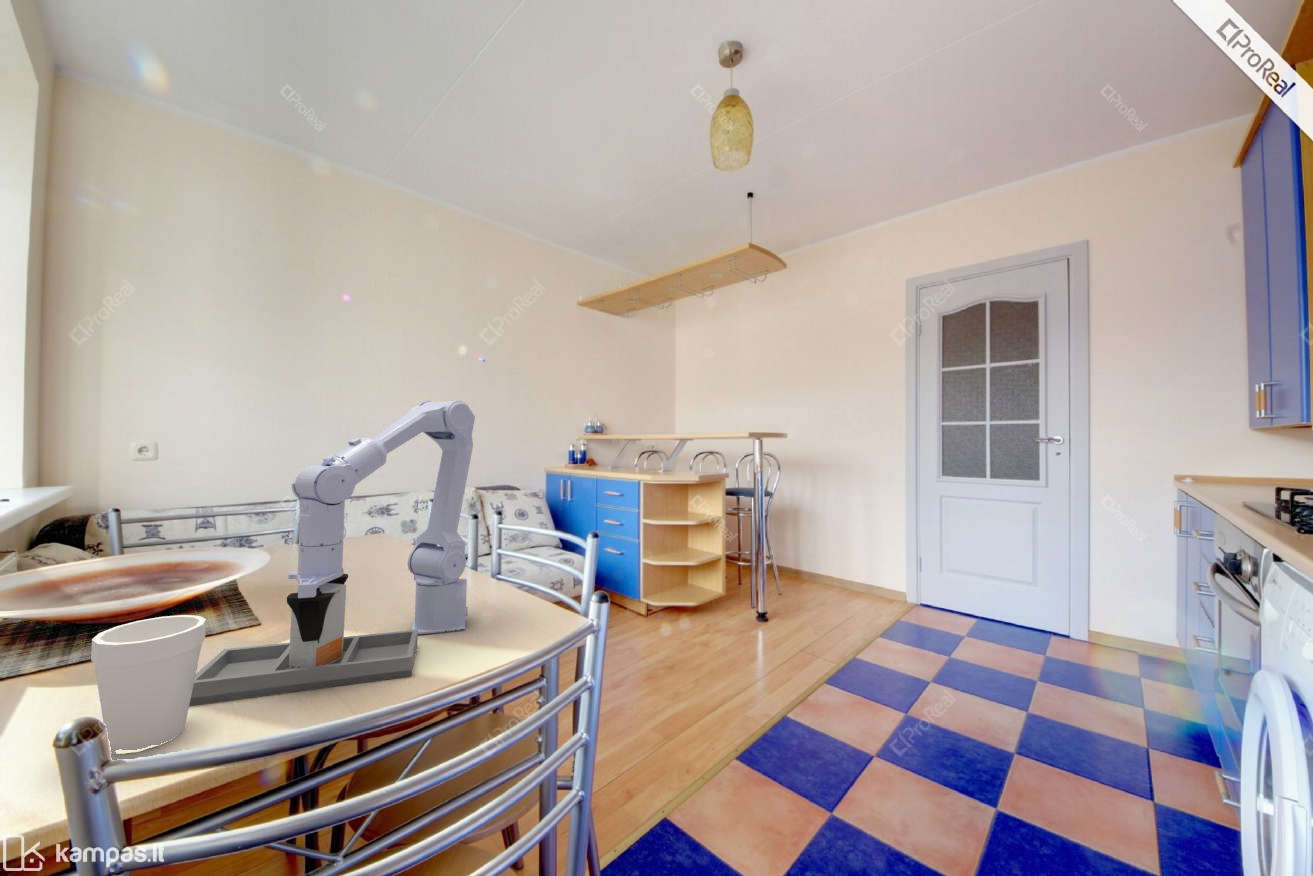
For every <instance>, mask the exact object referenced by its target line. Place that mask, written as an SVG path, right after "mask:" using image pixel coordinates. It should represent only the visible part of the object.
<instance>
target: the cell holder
mask: <svg viewBox="0 0 1313 876" xmlns="http://www.w3.org/2000/svg"><path fill="white" fill-rule="evenodd" d="M418 636H419V634H418V630H411V629H410V630H400V631H398V630H397V631H389V632H380V633H371V634H370V633H369V634H360V635H350V636H344V640H343V658H342V659H341V660H339V661H337V662H335V663H333V664H329V665H321V666H312V667H304V668H295V669H289V650H290V642H282V643H281V642H280V643H273V644H272V643H271V644H263V645H260V644H259V645H252V646H241V647H233V648H224V649H223V650H222V651H220V652H219V653H217V655H216V656H214V658H212V659H211V660H210V661H209V662H208V663H207V664H206V665H205V666H203V667H202V668H201V669H200V670H199V671H197V672H196V675H195V680H194V685H193V690H192V694H191V699H190V704H189V707H191V706H197V705H198V706H199V705H206V704H212V703H221V702H229V701H234V700H235V701H236V700H242V699H243V700H244V699H249V698H250V699H251V698H259V697H265V696H274V695H281V694H288V693H289V694H290V693H295V692H303V691H304V692H305V691H310V690H311V691H312V690H319V689H327V688H334V687H340V686H349V685H356V684H364V683H370V682H378V681H385V680H388V681H389V680H395V679H401V678H403V679H404V678H410V677H412V672H413V669H414V663H415V660H416V659H415V658H416V655H417V650H416V649H418ZM415 654H416V655H415Z"/></svg>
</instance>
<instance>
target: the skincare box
mask: <svg viewBox="0 0 1313 876" xmlns="http://www.w3.org/2000/svg"><path fill="white" fill-rule="evenodd" d="M319 588H320V591H322V593H333V592H335V594H334V596H333V597H332V599H331V601H330V603H329V606H328V609H327V612H326V615H325V620H324V625H323V630H322V634H321V637H320V639H319V640H317V641H308V642H302V639H301V636H300V631H299V627H298V623H297V619H296V617H295V615H294V612H293V611H292V610H291V615H290V632H289V633H290V634H289V635H290V636H289V643H290V650H289V669H295V668H304V667H312V666H321V665H329V664H333V663H335V662H337V661H339V660H341V659H342V658H343V640H344V637H345V634H344V633H345V621H346V620H345V616H346V614H345V613H346V599H347V598H346V596H347V584H346V583H345V584H334V583H325V584H322V585H320V587H319ZM294 593H298V591H295V592H294Z"/></svg>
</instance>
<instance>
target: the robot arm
mask: <svg viewBox="0 0 1313 876" xmlns="http://www.w3.org/2000/svg"><path fill="white" fill-rule="evenodd" d="M475 419H476V416H475V415H474V413H473V411H472V409H471V408H470V406H469V404H467V403H466V402H464V401H462V400H460V399H459V400H453V401H452V400H451V401H450V400H449V401H447V400H446V401H431V400H425V401H422V402H420V403H419V404H418V405H414V406H412V407H411V408H410V409H409V411H408V412H407V413H406V414H405V415H403V416H402V417H400V418H399V419H397V420H396V421H395V422H393V423H392V424H391V425H389V426H388V427H387V428H385V429H384V430H383V431H381V432H380V433H378V434H377V435H376V436H374V437H373V438H371V437H370V438H369V437H365V436H363V437H360V438H358V437H357V438H356V437H354V438H352V439H350V440H348V442H347V443H348V444H349V445H347V446H346V447H344V448H342V449H341V450H340V451H338V452H336V453H334V454H333V455H326V456H325V457H324V458H322V462H321V465H317V464H316V465H310V466H309V465H308V466H307V467H305V468H304V469H302V470H301V471H299V473H298V474H297V477H296V479H295V481H294V482H293V483H291V490H292V493H293V495H294V496H295V497H296V498H297V499H298V501H299V529H298V532H299V533H298V554H297V555H298V557H297V559H298V560H297V570H295V571H293V570H292V571H290V572H289V573H288V574H287V575H288V576H287V579H288V580H293V579H294V580H296V582H297V583H298V589H297V592H298V593H295V592H293V593H290V594H288V595H287V597H286V603H287V605H288V606H289V608H290V609H291V612H292V611H293V612H294V615H295V617H296V619H297V623H298V627H299V631H300V636H301V639H302V642H308V641H317V640H319V639H320V637H321V634H322V630H323V625H324V620H325V615H326V612H327V609H328V606H329V603H330V601H331V599H332V597H333V596H334V594H335V592H333V593H322V591H320V588H319V587H320V585H322V584H325V583H334V584H345V585H346V581H347V580H348V578H349V574H347V573H345V572H344V571H345V569H344V568H343V560H344V559H343V558H344V555H343V554H344V532H345V531H344V530H345V528H344V527H345V505H346V504H345V503H346V502H345V501H346V500H349V499H350V498H351V496H352V495H353V493H354V490H355V488H356V486H357V485H358V484H359V483H361V482H362V481H363V480H365V479H366V478H367V477H369V476H370V475H372V474H373V473H374V472H376V471H377V470H378V469H380V468H381V467H384V465H385V464H386V462H387V457H388V454H389V453H391V452H392V451H394V450H396V449H397V448H399V447H400V446H402V445H404V444H405V443H407V442H408V441H411V440H412V439H413V438H415V437H418V435H420V434H421V433H423V434H425V435H426V436H428V437H429V438H430V439H431V440H432V441H434V442H435V443H436V444H437V445H438V447H439V448H440V449H441V451H442V453H441V458H440V464H439V468H438V473H437V478H436V483H435V488H434V492H433V493H434V494H433V498H432V504H431V509H430V514H429V517H428V524H427V528H426V529H425V530H424V531H423V532H422V533H421V534H419V535H418V536H417V538H416V539H415V544H414V547H413V548H412V550H411V552H410V553H409V555H408V558H407V567H408V570H409V572H410V573H411V574H412V575H413V581H415V600H414V601H415V604H414V619H413V621H412V625H411V629H410V630H418V635H427V634H435V633H436V634H437V633H445V631H447V632H456V631H455V630H457V631H460V630H459V629H464V630H466V617H468V611H469V609H468V606H467V585H468V584H467V581H468V580H467V578H460V577H461V576H462V574H463V573H464V571H465V568H466V566H467V559H466V542H465V540H464V539H463V537H461V535H460V534H459V533H458V529H459V528H458V527H459V522H460V517H461V513H462V512H461V511H462V507H463V501H464V496H465V490H466V486H467V480H468V473H469V469H470V464H471V459H472V453H473V447H474V444H473V443H474V442H473V432H474V425H475V421H476V420H475Z"/></svg>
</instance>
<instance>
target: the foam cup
mask: <svg viewBox="0 0 1313 876" xmlns="http://www.w3.org/2000/svg"><path fill="white" fill-rule="evenodd" d="M206 625H207V619H206V618H204V617H203V616H201V615H191V614H190V615H189V614H181V615H180V614H178V615H169V616H168V615H165V616H159V617H154V618H147V619H142V620H136V621H133V622H132V621H131V622H128V623H125V624H121V625H117V626H114V627H112V628H111V627H110V628H109V629H106V630H104V631H102V632H99V633H97V635H95V636H94V637H93V638H92V639H91V651H90V652H91V654H90V655H91V656H90V657H91V658H90V661H91V662H92V663H93V664H94V671H95V676H96V682H97V683H96V684H97V688H98V689H97V690H98V697H99V702H100V708H101V714H102V715H101V716H102V721H103V724H104V723H105V724H106V728H107V732H108V739H109V741H110V747H111V752H112V754H111V755H117V754H116V752H115V751H116V750H119V749H122V750H137V749H142V748H146V747H148V746H151V745H160V744H161V743H164V742H166V741H169V740H171V739H173V738H174V737H176V736H177V735H178V736H180V735H181V734H183V732H184V730H185V724H186V723H187V717H188V714H189V708H190V706H189V704H190V699H191V694H192V690H193V685H194V680H195V675H196V674H197V670H198V664H199V660H200V654H201V651H202V650H201V649H202V645H203V643H204V641H205V638H206V630H207V629H206V627H207V626H206ZM179 734H180V735H179ZM178 736H177V737H178ZM177 737H176V738H177ZM174 739H175V738H174ZM174 739H173V740H174ZM171 741H172V740H171ZM169 742H170V741H169ZM160 746H161V745H160ZM111 752H110V753H111ZM121 755H122V756H125V755H124V754H121ZM121 755H120V756H121Z"/></svg>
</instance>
